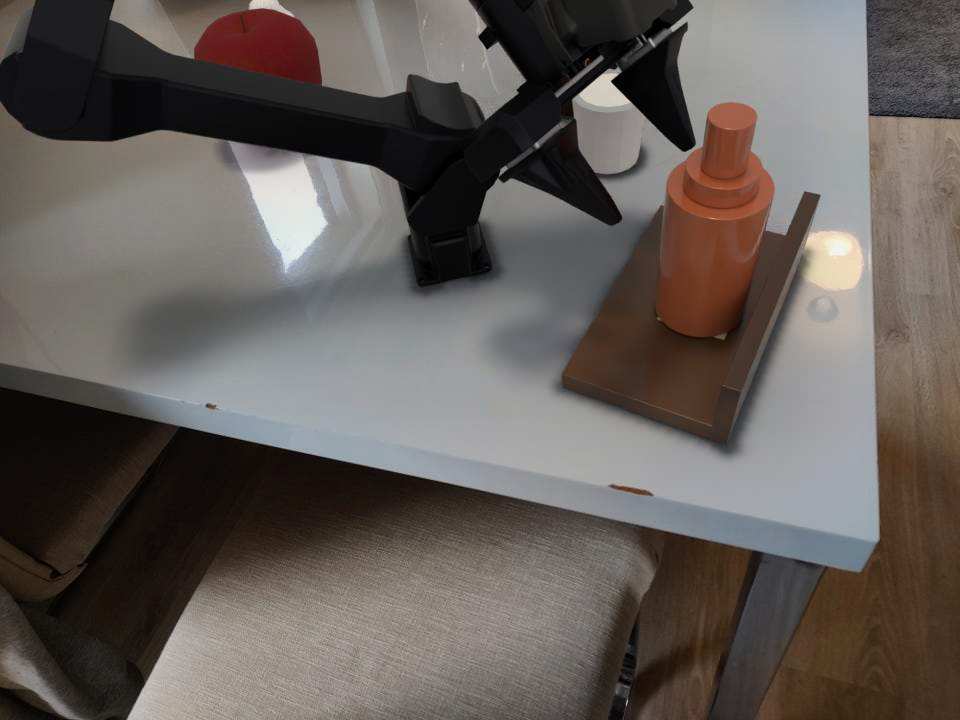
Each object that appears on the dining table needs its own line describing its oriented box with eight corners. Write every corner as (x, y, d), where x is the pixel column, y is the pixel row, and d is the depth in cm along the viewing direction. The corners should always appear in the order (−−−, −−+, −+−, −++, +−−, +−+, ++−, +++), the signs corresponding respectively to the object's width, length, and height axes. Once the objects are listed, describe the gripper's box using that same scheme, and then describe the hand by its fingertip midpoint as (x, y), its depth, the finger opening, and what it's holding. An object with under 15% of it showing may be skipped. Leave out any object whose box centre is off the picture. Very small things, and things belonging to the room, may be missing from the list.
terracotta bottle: (641, 283, 57) (657, 96, 45) (724, 265, 57) (762, 75, 45) (672, 346, 53) (698, 159, 41) (760, 326, 53) (813, 135, 41)
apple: (348, 102, 81) (315, -22, 71) (325, 167, 74) (284, 39, 64) (245, 107, 83) (198, -14, 73) (213, 171, 76) (155, 47, 66)
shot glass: (605, 188, 67) (607, 120, 62) (557, 155, 71) (555, 89, 66) (660, 156, 69) (667, 88, 64) (610, 126, 73) (612, 59, 68)
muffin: (246, 67, 89) (225, 9, 84) (266, 41, 93) (246, -16, 87) (294, 67, 88) (275, 8, 82) (312, 41, 91) (295, -17, 86)
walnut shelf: (562, 386, 54) (559, 332, 49) (659, 218, 64) (665, 160, 59) (726, 445, 49) (741, 391, 45) (802, 254, 60) (821, 194, 55)
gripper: (478, -34, 35) (664, 228, 38) (681, -166, 43) (820, 61, 46) (392, 76, 45) (547, 277, 48) (571, -48, 53) (693, 132, 56)
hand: (655, 184), depth 49 cm, fingers open, 9 cm apart
